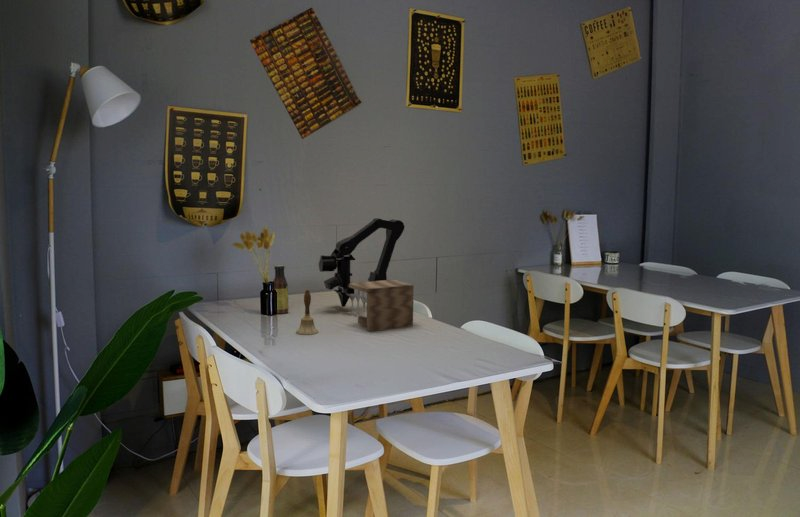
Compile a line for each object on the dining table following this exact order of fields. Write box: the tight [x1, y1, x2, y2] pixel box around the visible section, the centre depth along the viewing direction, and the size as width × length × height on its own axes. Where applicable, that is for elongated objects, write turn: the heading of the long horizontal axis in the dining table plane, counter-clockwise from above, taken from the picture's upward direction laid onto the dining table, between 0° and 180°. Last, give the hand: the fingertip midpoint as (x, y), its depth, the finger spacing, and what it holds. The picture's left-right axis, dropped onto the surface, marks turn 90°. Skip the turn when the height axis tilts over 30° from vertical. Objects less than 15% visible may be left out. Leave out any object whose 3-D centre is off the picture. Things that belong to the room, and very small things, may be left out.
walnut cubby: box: [349, 279, 415, 333], centre depth 261 cm, size 20×15×16 cm
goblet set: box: [346, 284, 367, 318], centre depth 272 cm, size 28×6×13 cm, turn 29°
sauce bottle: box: [272, 264, 289, 315], centre depth 280 cm, size 6×6×20 cm
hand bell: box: [295, 289, 319, 336], centre depth 248 cm, size 8×8×16 cm
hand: (343, 306), depth 287 cm, fingers closed, pressing on goblet set
